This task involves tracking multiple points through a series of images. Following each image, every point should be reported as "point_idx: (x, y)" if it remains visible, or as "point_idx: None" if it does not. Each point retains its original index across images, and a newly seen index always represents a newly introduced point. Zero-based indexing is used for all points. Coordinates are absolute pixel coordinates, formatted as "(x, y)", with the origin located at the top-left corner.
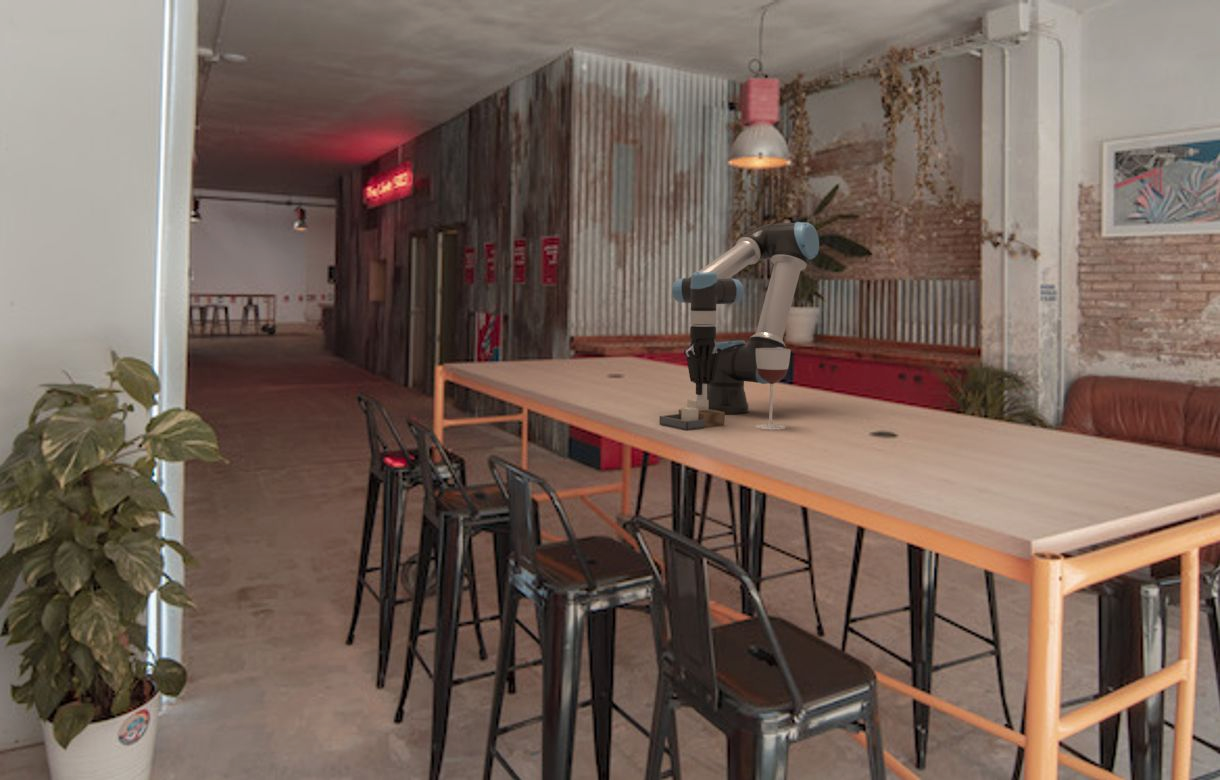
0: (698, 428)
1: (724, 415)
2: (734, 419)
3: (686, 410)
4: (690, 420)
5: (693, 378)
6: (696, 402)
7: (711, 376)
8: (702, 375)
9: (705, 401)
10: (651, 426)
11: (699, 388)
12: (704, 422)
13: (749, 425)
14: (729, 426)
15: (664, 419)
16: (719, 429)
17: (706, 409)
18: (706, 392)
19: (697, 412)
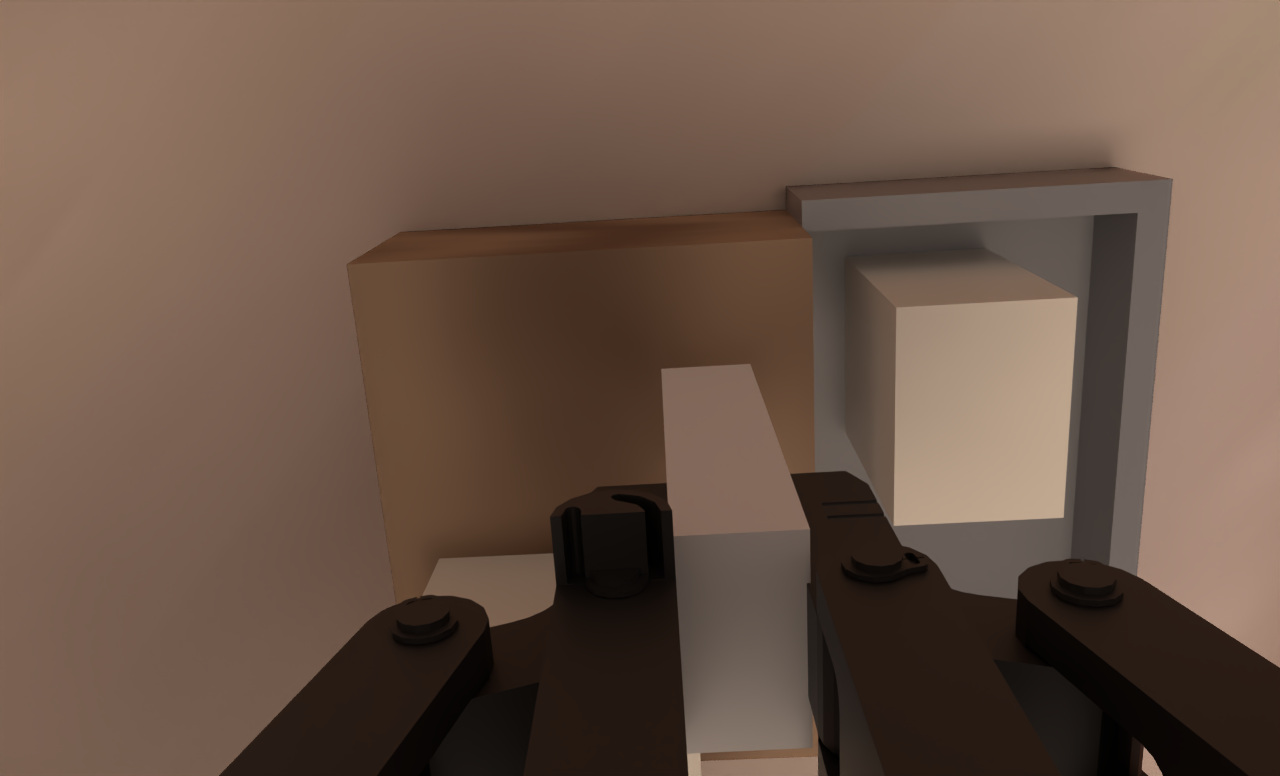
0: (896, 182)
1: (366, 254)
2: (3, 519)
3: (1061, 394)
4: (1015, 265)
5: (1133, 737)
6: None
7: (462, 673)
8: (897, 682)
9: (702, 390)
10: (1237, 619)
11: (877, 531)
12: (800, 193)
13: (78, 55)
14: (385, 135)
15: None
16: (664, 12)
17: (476, 559)
18: (683, 454)
19: (904, 294)
